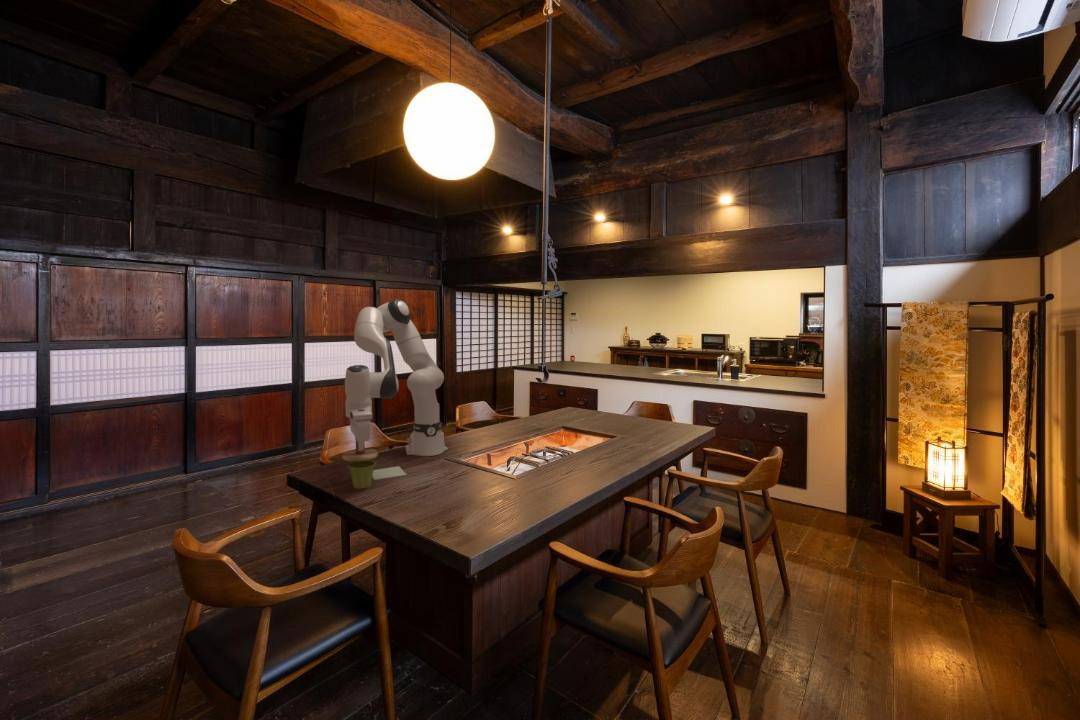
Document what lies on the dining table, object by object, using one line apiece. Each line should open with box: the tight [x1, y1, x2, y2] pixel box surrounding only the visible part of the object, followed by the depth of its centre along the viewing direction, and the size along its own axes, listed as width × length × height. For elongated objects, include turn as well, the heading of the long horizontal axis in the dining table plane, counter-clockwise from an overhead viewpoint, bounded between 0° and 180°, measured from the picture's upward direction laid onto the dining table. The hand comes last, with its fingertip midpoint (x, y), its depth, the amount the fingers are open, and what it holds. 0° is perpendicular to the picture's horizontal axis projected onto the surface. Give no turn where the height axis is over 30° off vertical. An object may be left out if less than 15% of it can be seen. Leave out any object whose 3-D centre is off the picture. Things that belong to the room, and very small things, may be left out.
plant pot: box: [347, 459, 377, 490], centre depth 169 cm, size 9×9×9 cm
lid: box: [342, 441, 379, 462], centre depth 168 cm, size 12×12×5 cm
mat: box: [372, 465, 407, 481], centre depth 183 cm, size 12×12×1 cm
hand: (359, 448), depth 168 cm, fingers closed on lid, 3 cm apart
